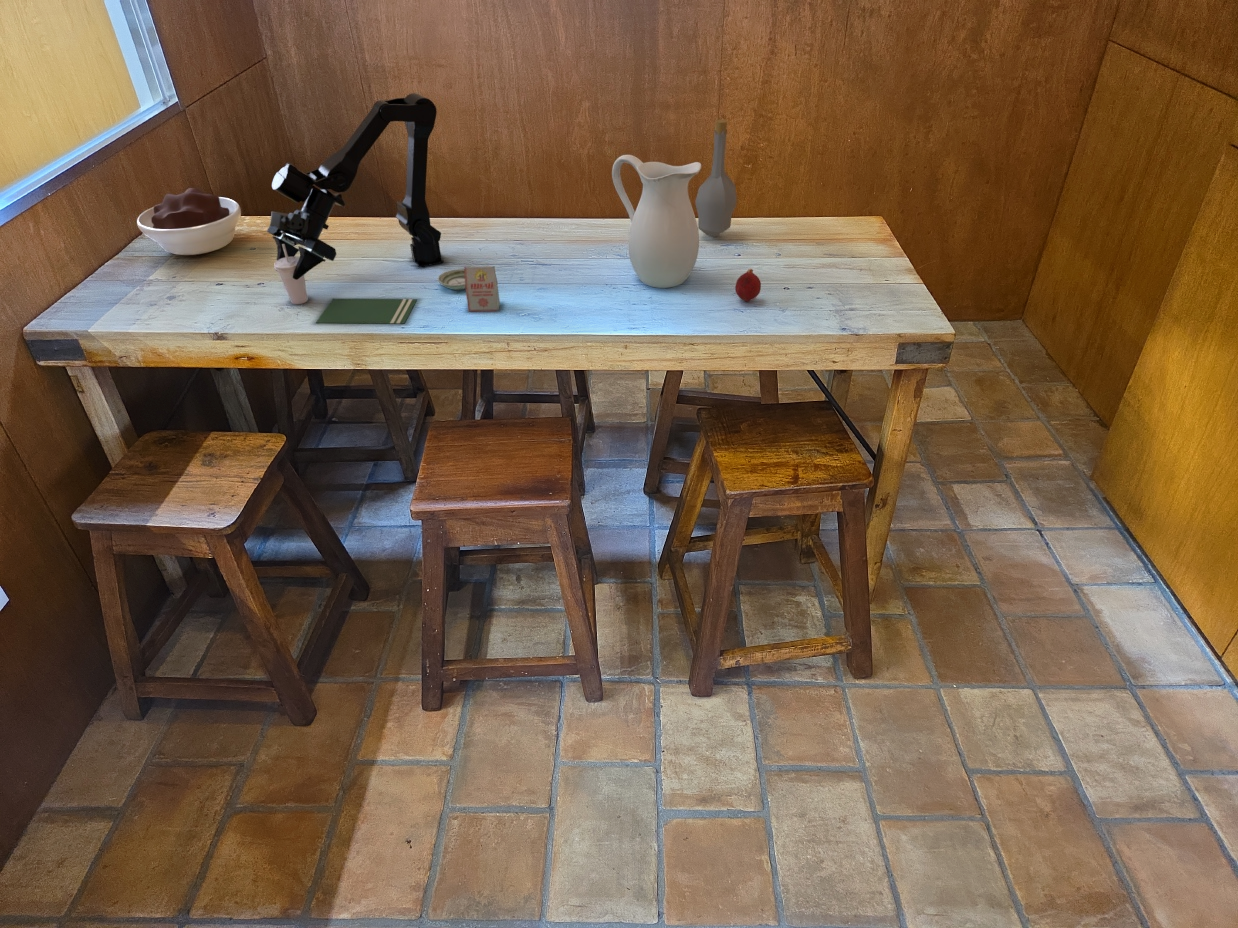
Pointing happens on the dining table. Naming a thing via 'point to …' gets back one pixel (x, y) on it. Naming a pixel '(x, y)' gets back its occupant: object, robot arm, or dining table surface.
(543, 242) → the dining table surface
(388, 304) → the cloth
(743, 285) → the onion
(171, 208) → the bowl of brown food
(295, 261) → the smoothie
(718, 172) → the bottle
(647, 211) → the pitcher
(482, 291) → the tan food box
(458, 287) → the saucer
